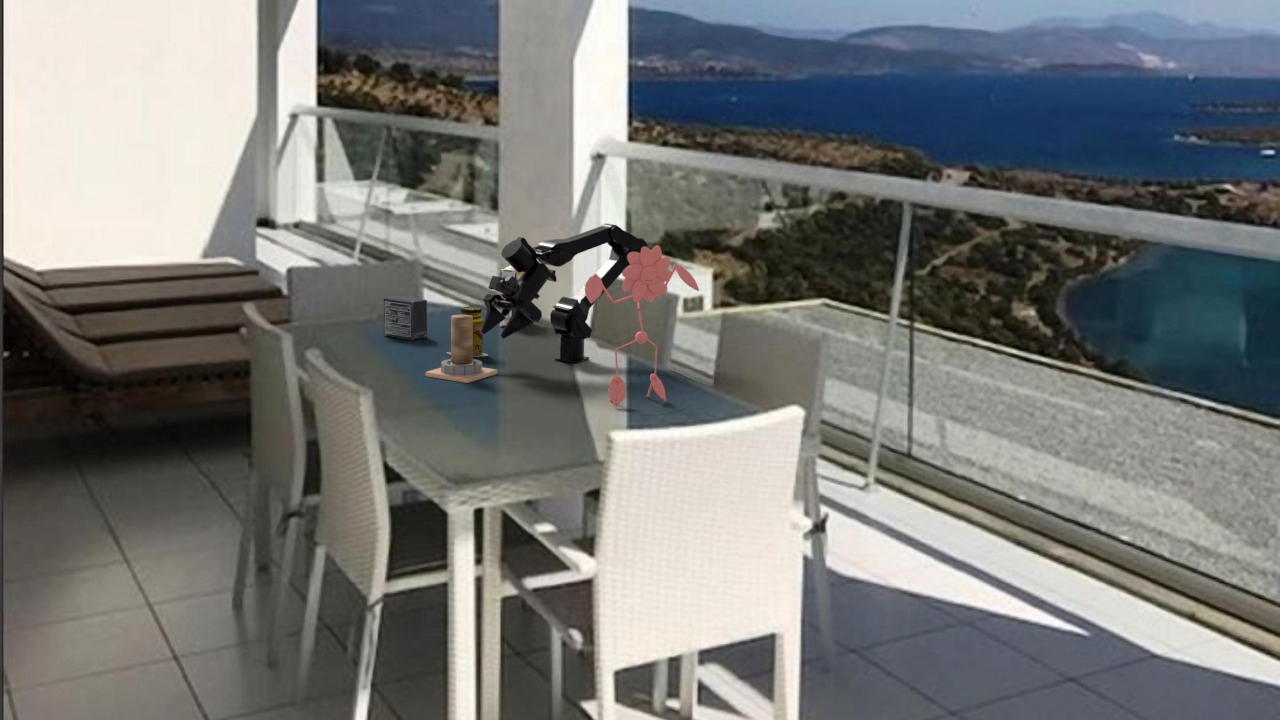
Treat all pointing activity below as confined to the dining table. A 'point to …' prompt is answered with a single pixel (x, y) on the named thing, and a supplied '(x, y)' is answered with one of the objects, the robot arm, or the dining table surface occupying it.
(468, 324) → the brown cylinder
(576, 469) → the dining table surface
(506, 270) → the candy bar box
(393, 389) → the dining table surface
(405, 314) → the small box
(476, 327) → the condiment
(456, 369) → the collar
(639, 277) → the figurine
